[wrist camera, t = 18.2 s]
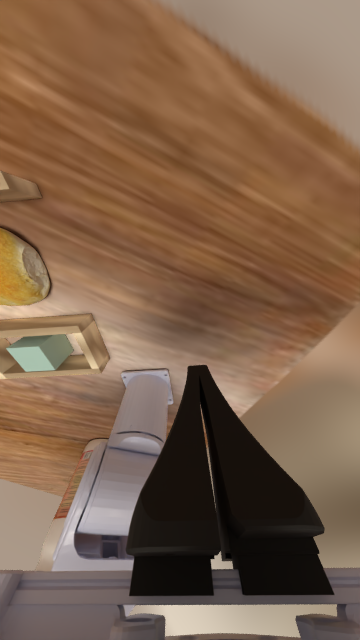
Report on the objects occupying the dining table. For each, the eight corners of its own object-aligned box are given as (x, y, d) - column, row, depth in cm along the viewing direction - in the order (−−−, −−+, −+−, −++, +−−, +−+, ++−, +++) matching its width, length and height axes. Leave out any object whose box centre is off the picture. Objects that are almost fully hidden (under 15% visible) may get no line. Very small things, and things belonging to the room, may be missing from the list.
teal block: (74, 349, 23) (55, 370, 19) (49, 351, 23) (25, 371, 19) (62, 327, 21) (38, 346, 17) (34, 329, 21) (5, 348, 17)
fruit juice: (99, 433, 36) (-69, 851, 11) (130, 445, 39) (51, 787, 15) (80, 445, 39) (-83, 791, 15) (111, 455, 42) (19, 750, 18)
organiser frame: (110, 358, 23) (101, 373, 21) (19, 363, 24) (0, 379, 21) (36, 183, 13) (0, 170, 10) (-122, 199, 13) (-194, 190, 11)
